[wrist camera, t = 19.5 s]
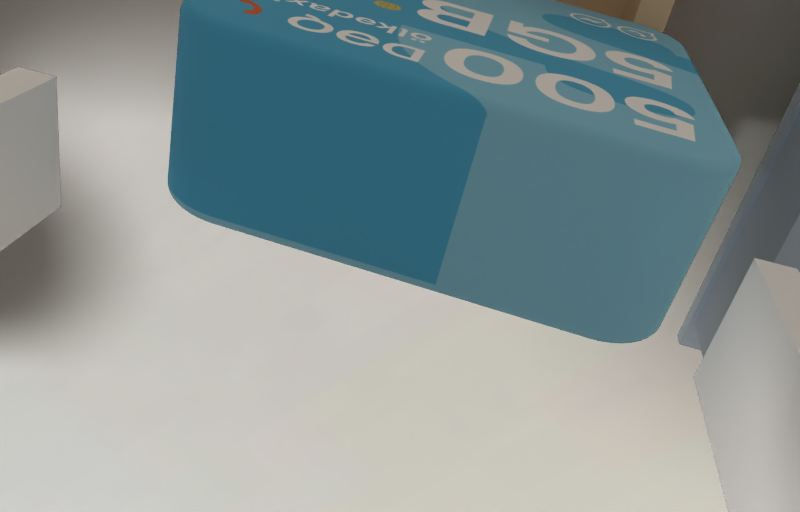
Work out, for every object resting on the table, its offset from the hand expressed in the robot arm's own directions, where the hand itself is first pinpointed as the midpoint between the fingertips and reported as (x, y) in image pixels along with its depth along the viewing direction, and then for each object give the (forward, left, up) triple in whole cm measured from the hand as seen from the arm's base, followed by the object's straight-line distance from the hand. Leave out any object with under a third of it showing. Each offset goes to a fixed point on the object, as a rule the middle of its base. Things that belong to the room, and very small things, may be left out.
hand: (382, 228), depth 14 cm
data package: (0, 0, -14) cm, 14 cm away
